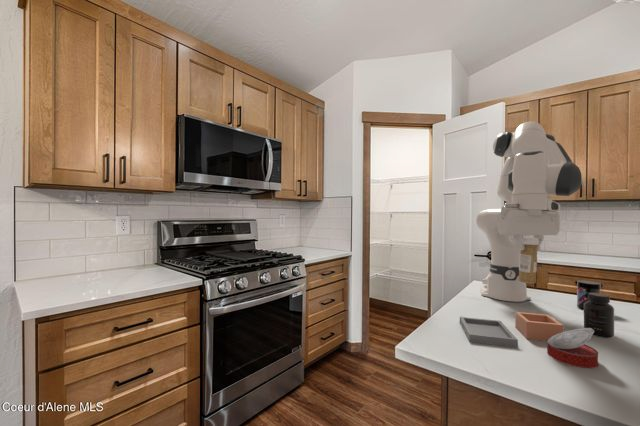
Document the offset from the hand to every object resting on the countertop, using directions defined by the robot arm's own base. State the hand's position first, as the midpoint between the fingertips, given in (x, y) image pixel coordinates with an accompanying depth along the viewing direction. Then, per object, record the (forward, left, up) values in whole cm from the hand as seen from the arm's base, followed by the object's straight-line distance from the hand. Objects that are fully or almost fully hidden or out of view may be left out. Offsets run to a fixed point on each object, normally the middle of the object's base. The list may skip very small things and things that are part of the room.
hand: (528, 250), depth 89 cm
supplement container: (-36, +33, -26) cm, 55 cm away
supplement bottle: (-8, +22, -26) cm, 35 cm away
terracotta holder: (-1, +3, -25) cm, 26 cm away
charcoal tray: (+3, -12, -25) cm, 28 cm away
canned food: (+13, +5, -26) cm, 29 cm away
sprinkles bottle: (0, 0, -10) cm, 10 cm away
